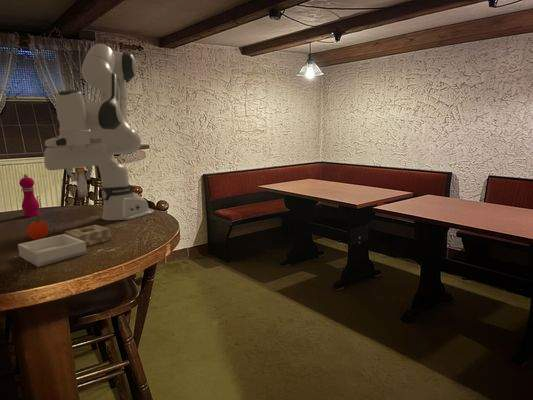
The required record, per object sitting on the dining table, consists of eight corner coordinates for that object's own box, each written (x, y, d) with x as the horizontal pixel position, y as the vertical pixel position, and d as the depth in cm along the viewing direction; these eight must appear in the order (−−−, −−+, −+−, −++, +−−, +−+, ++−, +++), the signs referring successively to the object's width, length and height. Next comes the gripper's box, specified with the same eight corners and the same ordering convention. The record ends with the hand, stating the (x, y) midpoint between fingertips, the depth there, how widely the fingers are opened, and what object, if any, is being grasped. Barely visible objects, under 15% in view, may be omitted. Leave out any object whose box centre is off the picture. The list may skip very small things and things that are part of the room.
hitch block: (96, 235, 142) (95, 224, 141) (111, 239, 135) (110, 228, 134) (66, 242, 134) (64, 231, 133) (79, 247, 126) (78, 236, 126)
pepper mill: (43, 214, 183) (37, 173, 179) (28, 217, 177) (21, 175, 173) (35, 213, 187) (29, 173, 183) (20, 216, 181) (13, 174, 177)
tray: (65, 245, 130) (64, 233, 129) (86, 253, 120) (85, 241, 119) (19, 256, 120) (17, 244, 119) (38, 266, 110) (36, 253, 109)
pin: (85, 195, 133) (81, 167, 131) (89, 196, 131) (85, 167, 129) (77, 196, 131) (73, 168, 129) (80, 197, 129) (76, 168, 127)
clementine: (21, 242, 136) (17, 223, 135) (35, 236, 143) (32, 218, 142) (41, 242, 135) (38, 223, 134) (54, 236, 142) (51, 218, 140)
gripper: (101, 138, 137) (105, 176, 140) (39, 141, 122) (45, 184, 125) (109, 138, 133) (114, 177, 136) (46, 141, 118) (53, 185, 121)
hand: (81, 180), depth 130 cm, fingers closed on pin, 3 cm apart
